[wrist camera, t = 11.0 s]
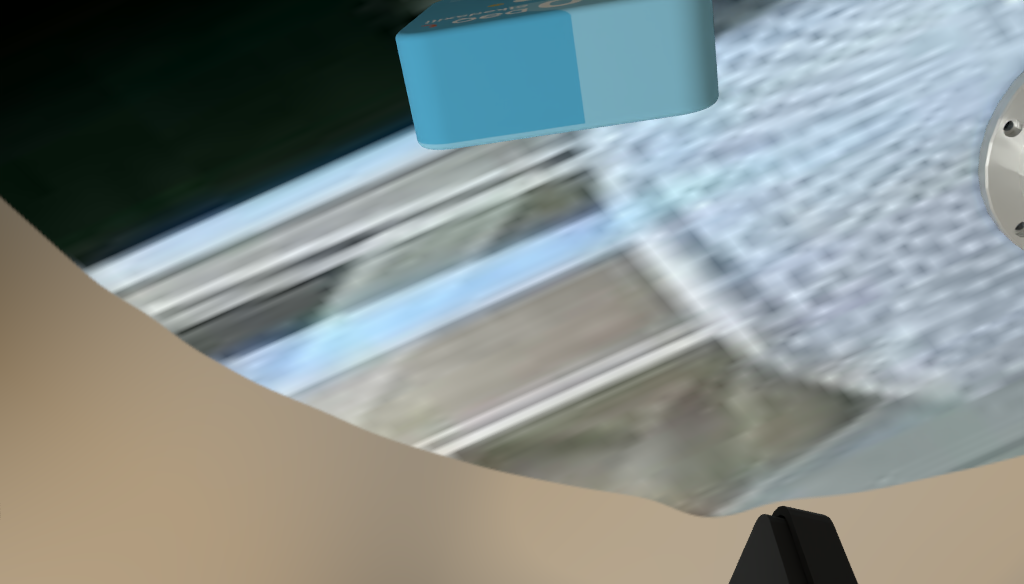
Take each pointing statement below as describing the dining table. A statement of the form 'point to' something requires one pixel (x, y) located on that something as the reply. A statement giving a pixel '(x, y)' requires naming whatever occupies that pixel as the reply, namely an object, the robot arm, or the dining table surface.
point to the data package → (553, 66)
